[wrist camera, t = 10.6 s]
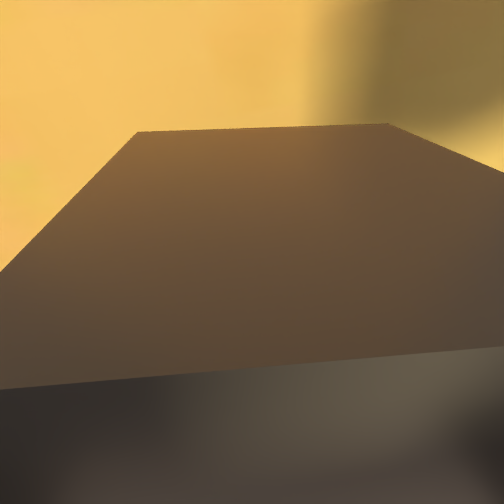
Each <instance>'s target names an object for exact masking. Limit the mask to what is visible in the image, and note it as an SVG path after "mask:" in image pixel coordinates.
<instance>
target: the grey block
mask: <svg viewBox="0 0 504 504" xmlns="http://www.w3.org/2000/svg"><path fill="white" fill-rule="evenodd" d="M0 504H504V173H503V172H501V171H499V170H496V169H494V168H491V167H489V166H487V165H484V164H482V163H480V162H477V161H475V160H473V159H470V158H468V157H466V156H463V155H461V154H458V153H456V152H454V151H451V150H449V149H447V148H444V147H442V146H440V145H437V144H435V143H433V142H430V141H428V140H425V139H423V138H421V137H418V136H416V135H414V134H411V133H409V132H407V131H404V130H402V129H400V128H397V127H395V126H392V125H390V124H359V125H329V126H299V127H270V128H240V129H211V130H181V131H152V132H137V133H136V134H135V135H134V136H133V137H132V138H131V139H130V140H129V141H128V142H127V143H126V144H125V145H124V146H123V147H122V148H121V149H120V150H119V151H118V152H117V153H116V154H115V155H114V156H113V157H112V158H111V159H110V160H109V161H108V163H107V164H106V165H105V166H104V167H103V168H102V169H101V170H100V171H99V172H98V173H97V174H96V175H95V176H94V177H93V178H92V179H91V180H90V181H89V182H88V183H87V184H86V185H85V186H84V187H83V188H82V189H81V190H80V191H79V192H78V193H77V194H76V195H75V196H74V197H73V198H72V199H71V200H70V201H69V202H68V203H67V204H66V205H65V206H64V207H63V209H62V210H61V211H60V212H59V213H58V214H57V215H56V216H55V217H54V218H53V219H52V220H51V221H50V222H49V223H48V224H47V225H46V226H45V227H44V228H43V229H42V230H41V231H40V232H39V233H38V234H37V235H36V236H35V237H34V238H33V239H32V240H31V241H30V242H29V243H28V244H27V245H26V246H25V247H24V248H23V249H22V250H21V251H20V252H19V254H18V255H17V256H16V257H15V258H14V259H13V260H12V261H11V262H10V263H9V264H8V265H7V266H6V267H5V268H4V269H3V270H2V271H1V272H0Z"/></svg>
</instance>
